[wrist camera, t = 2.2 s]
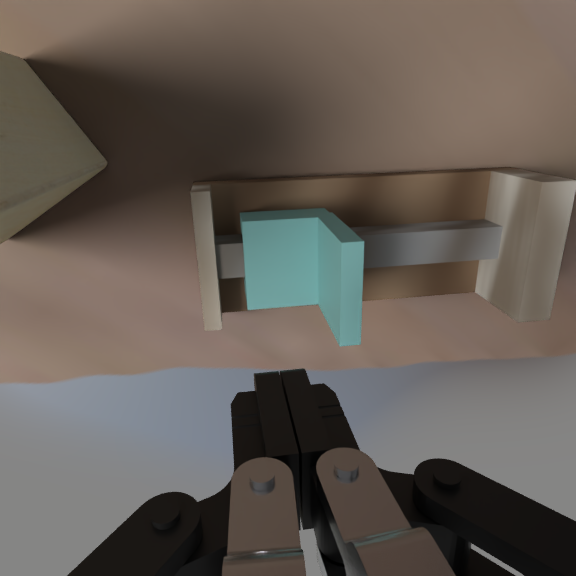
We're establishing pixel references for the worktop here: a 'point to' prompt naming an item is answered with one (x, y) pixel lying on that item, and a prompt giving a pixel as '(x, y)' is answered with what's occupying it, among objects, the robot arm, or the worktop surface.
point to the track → (368, 211)
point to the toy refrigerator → (37, 148)
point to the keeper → (305, 266)
